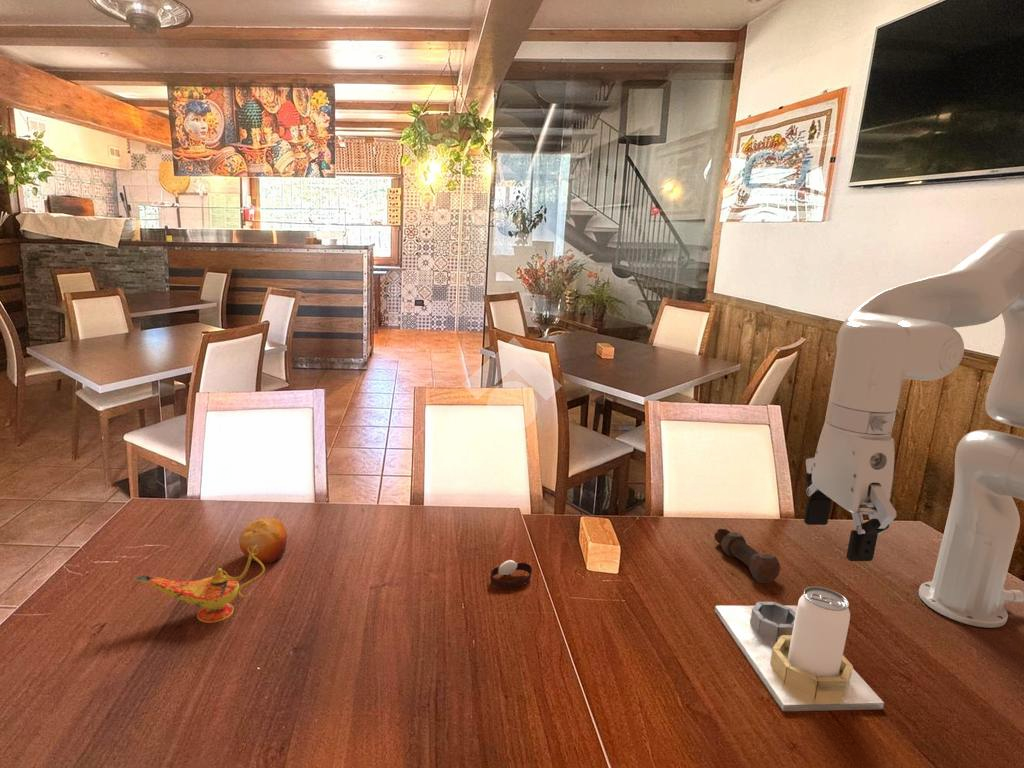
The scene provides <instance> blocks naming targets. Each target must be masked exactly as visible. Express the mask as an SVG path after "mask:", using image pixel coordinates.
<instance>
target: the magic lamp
mask: <svg viewBox="0 0 1024 768" xmlns="http://www.w3.org/2000/svg"><path fill="white" fill-rule="evenodd" d="M256 547H257V545H256V546H254V547H249V548H253V549H252V551H251V552H250V551H249V548H248V549H247V550H248V552H249V553H250V554H249V557H251V558H249V557H247V561H246V564H245V568H244V569H243V572H242V573H241V574H240V575H238V576H231V575H229V574H228V573H227V572H226V570H224V569H222V568H221V567H219V568H217V569H216V572H215V574H214V575H212V576H210V577H206V578H201V579H196V580H190V581H189V580H188V581H187V580H186V581H179V580H178V581H177V580H172V579H167V578H164V577H163V578H162V577H159V576H152V575H140V576H137V577H135V578H134V581H135V582H140V583H143V584H146V585H149V586H151V587H153V588H155V589H156V590H158V591H160V592H161V593H163V594H165V595H166V596H169V597H172V598H174V599H176V600H179V601H181V602H184V603H188V604H190V605H192V606H195V607H198V608H201V609H199V611H198V612H197V615H196V618H197V620H199V621H200V622H202V623H207V624H208V623H209V624H210V623H211V624H212V623H217V622H221V621H224V620H226V619H227V618H229V617H230V616H232V614H233V613H234V610H235V608H234V605H232V604H231V603H230V602H232V601H233V600H234V599H235V598H236V597H237V595H238V596H240V597H242V598H246V597H249V595H250V591H249V590H247V592H248V594H247V595H242V593H241V592H240V591H241V589H242V588H244V587H245V586H247V585H249V584H250V583H251V582H253V581H255V580H257V579H258V578H260V577H261V576H263V574H264V573H265V571H266V567H265V565H264V563H262V562H261V561H260V560H258V559H257V558H256V557H255V556H254V555H255V554H258V549H257V548H256ZM255 549H256V550H257V553H253V552H254V550H255ZM252 558H254V559H255V560H256V561H257V563H258V564H259V565H260V566H261V567H262V571H261V572H260V573H259V574H258V575H257V576H255V577H253V578H251V579H249V580H247V581H246V582H244V583H243V584H241V585H240V583H239V581H241V580H242V579H243V578H244V577H245V576H246V574H247V573H248V570H249V568H250V565H251V562H252V560H251V559H252ZM256 561H255V562H256Z"/></svg>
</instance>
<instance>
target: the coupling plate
mask: <svg viewBox="0 0 1024 768" xmlns="http://www.w3.org/2000/svg"><path fill="white" fill-rule="evenodd" d="M714 606H715V607H714V612H715V614H716V615H717V617H718V619H719V620H720V621H721V623H722V624H723V626H724V627H725V628H726V630H727V632H728V633H729V635H730V636H731V637H732V639H733V641H734V642H735V644H736V645H737V647H738V648H739V649H740V651H741V652H742V654H743V655H744V656H745V658H746V660H747V661H748V662H749V664H750V665H751V667H752V669H753V670H754V671H755V673H756V674H757V676H758V677H759V679H760V681H761V682H762V683H763V684H764V686H765V688H766V690H767V691H768V692H769V693H770V695H771V696H772V698H773V699H774V701H775V702H776V703H777V705H778V707H779V709H781V711H782V712H812V711H813V712H814V711H816V712H817V711H820V712H821V711H822V712H823V711H859V710H862V711H863V710H883V709H884V705H885V701H883V700H882V699H881V698H880V697H879V695H878V694H877V693H876V692H875V691H874V690H873V689H872V688H871V687H870V685H869V684H867V682H866V681H865V680H864V678H863V677H861V675H860V674H859V673H858V672H857V671H856V670H855V669H854V666H853V664H852V663H851V662H850V661H849V659H847V657H845V655H843V656H842V660H841V665H840V670H839V674H838V677H816V676H814V675H811V674H809V673H807V672H805V671H803V670H800V669H798V668H796V667H794V666H792V665H791V664H790V663H789V662H788V654H789V649H790V643H791V638H792V632H793V627H794V621H795V616H796V611H797V606H798V605H783V604H781V603H778V602H775V601H757V602H756V603H755V605H714Z"/></svg>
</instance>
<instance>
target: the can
mask: <svg viewBox="0 0 1024 768" xmlns="http://www.w3.org/2000/svg"><path fill="white" fill-rule="evenodd" d="M849 602H850V601H848V599H847V598H846V597H845V596H844V595H842V594H841V593H839V592H837V591H835V590H833V589H830V588H827V587H823V586H809V587H806V588H804V590H803V594H801V596H800V597H799V599H798V603H797V605H796V606H797V611H796V616H795V621H794V627H793V632H792V638H791V643H790V649H789V654H788V662H789V663H790V664H791V665H792V666H794V667H796V668H798V669H800V670H803V671H805V672H807V673H809V674H811V675H814V676H816V677H838V674H839V670H840V665H841V660H842V656H844V651H845V646H846V642H847V636H848V631H849V627H850V620H851V612H850V610H849V606H850V603H849Z"/></svg>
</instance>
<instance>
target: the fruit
mask: <svg viewBox="0 0 1024 768" xmlns="http://www.w3.org/2000/svg"><path fill="white" fill-rule="evenodd" d="M287 540H288V532H287V530H286V527H285V525H284V523H283V521H280V520H278V519H277V518H273V517H263V518H262V517H261V518H259V519H256V520H255V521H252V522H250V524H248V525H246V526H245V528H244V529H243V530H242V531H241V532H240V536H239V540H238V542H239V543H238V544H239V548H240V551H241V552H242V554H244V556H245V557H247V558H248V557H249V554H250V553H249V552H248V550H247V549H248V548H249V547H254V546H256V545H257V547H256V548H257V549H258V554H255V555H254V556H255V557H256V558H257V559H258V560H260V561H261V562H262V563H263V564H268V563H269V564H270V563H273V562H274V561H276V560H278V559H280V558H281V557H282V556H283V555H284V554H286V549H287ZM252 549H253V548H249V551H250V552H251V551H252ZM253 553H257V550H256V549H255V550H254V552H253ZM249 558H251V557H249ZM251 561H253V562H257V561H256V560H255V559H254V558H252V559H251ZM257 563H258V562H257Z"/></svg>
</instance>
